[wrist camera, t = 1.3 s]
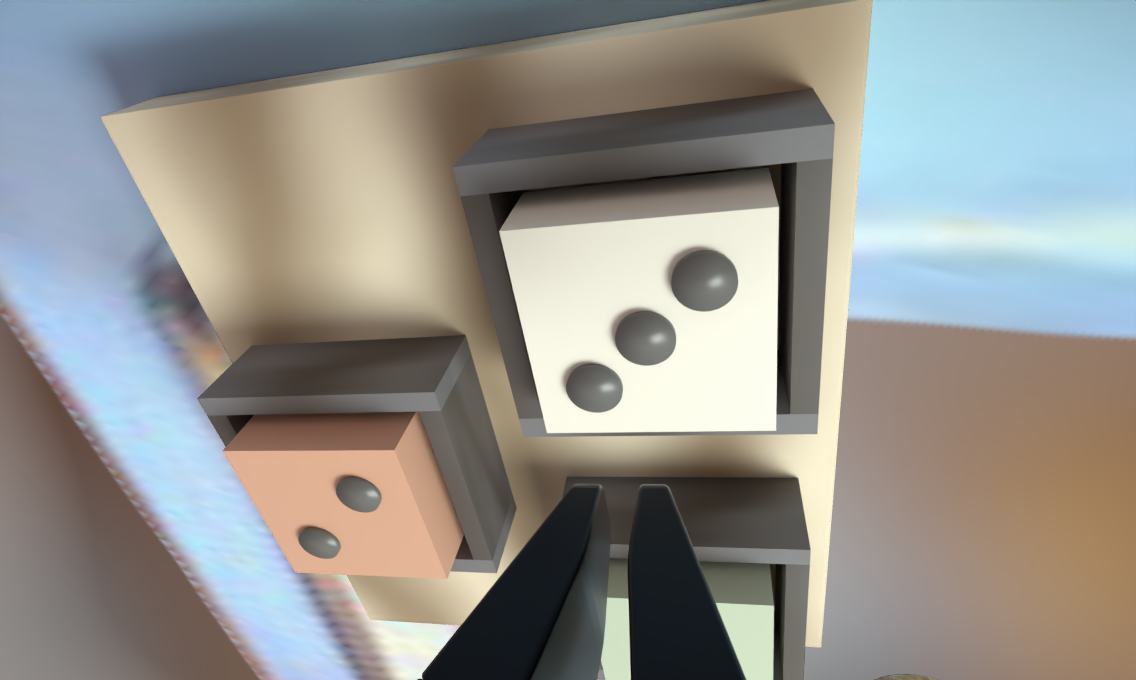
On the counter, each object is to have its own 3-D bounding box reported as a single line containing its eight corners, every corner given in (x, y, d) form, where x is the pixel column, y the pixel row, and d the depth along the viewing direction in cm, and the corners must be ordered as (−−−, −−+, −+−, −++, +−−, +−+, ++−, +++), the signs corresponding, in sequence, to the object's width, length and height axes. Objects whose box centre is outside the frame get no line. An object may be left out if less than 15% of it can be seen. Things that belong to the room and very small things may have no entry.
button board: (851, -13, 14) (909, 17, 10) (813, 598, 25) (833, 722, 21) (155, 97, 18) (9, 148, 14) (389, 579, 29) (342, 679, 25)
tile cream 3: (768, 167, 13) (779, 209, 11) (767, 373, 15) (776, 435, 13) (523, 192, 14) (497, 234, 12) (562, 380, 16) (545, 437, 15)
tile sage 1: (767, 543, 18) (774, 610, 17) (767, 645, 21) (773, 712, 19) (595, 538, 19) (585, 601, 18) (615, 635, 22) (608, 698, 20)
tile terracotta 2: (422, 399, 17) (391, 454, 16) (467, 524, 20) (445, 583, 18) (264, 403, 19) (219, 454, 17) (326, 521, 21) (292, 576, 20)
